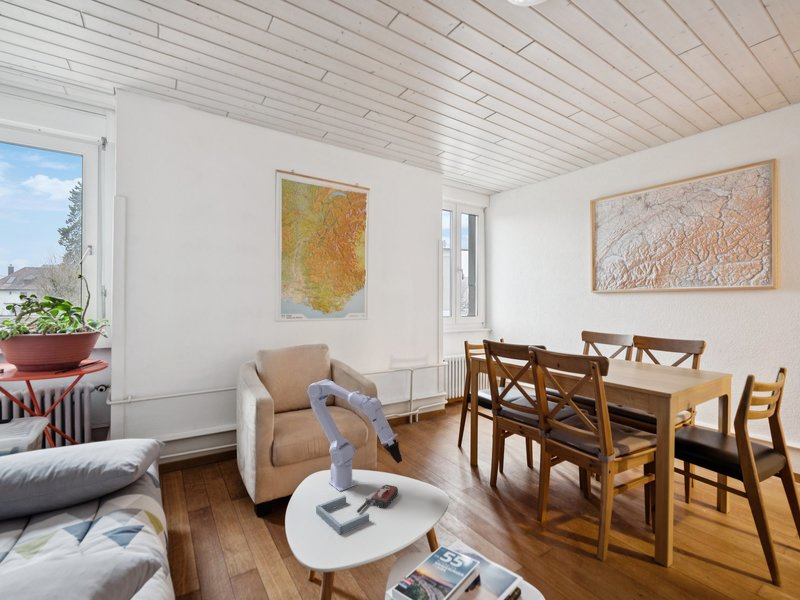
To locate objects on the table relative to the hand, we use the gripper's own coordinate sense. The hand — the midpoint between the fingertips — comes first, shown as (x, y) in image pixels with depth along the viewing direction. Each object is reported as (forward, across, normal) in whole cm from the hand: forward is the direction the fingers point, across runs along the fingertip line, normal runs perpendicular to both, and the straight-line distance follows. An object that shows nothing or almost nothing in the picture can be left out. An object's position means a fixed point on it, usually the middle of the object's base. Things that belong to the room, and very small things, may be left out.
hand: (398, 460), depth 146 cm
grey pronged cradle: (+6, -6, +26) cm, 27 cm away
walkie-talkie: (+10, +2, +14) cm, 17 cm away
